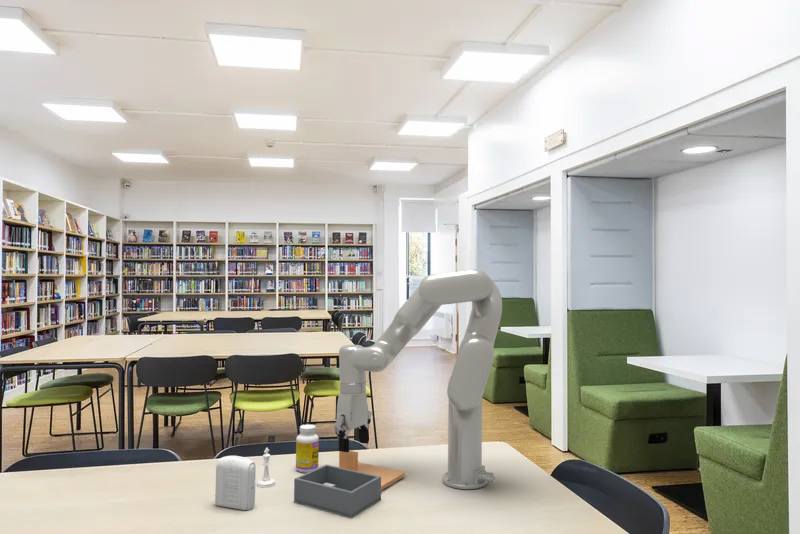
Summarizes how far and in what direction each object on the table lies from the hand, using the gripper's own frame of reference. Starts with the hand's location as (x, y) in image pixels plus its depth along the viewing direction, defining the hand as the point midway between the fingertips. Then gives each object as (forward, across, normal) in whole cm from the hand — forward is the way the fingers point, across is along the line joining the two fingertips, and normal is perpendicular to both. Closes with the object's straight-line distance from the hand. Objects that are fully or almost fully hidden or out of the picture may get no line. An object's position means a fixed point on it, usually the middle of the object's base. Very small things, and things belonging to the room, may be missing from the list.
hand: (354, 447), depth 164 cm
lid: (+8, 0, +4) cm, 9 cm away
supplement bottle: (+8, +3, -15) cm, 17 cm away
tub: (+8, +17, +7) cm, 20 cm away
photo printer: (+8, +33, -13) cm, 37 cm away
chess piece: (+8, +18, -17) cm, 26 cm away
